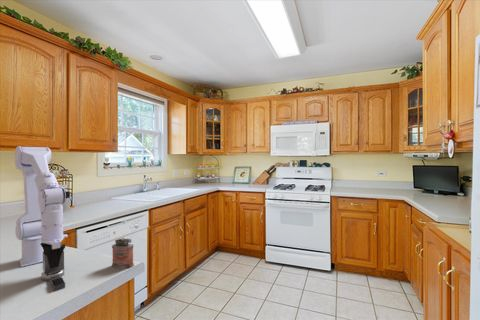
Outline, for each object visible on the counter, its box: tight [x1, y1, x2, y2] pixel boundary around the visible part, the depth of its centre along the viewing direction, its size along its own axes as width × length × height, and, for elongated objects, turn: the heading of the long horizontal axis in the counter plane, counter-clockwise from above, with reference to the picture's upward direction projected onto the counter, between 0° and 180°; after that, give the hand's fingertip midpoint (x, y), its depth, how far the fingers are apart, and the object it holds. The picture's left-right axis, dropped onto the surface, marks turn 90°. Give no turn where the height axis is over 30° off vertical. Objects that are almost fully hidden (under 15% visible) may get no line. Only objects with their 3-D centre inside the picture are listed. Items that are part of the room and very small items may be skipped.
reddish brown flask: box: [111, 237, 135, 269], centre depth 87 cm, size 8×3×10 cm, turn 80°
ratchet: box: [41, 268, 66, 292], centre depth 76 cm, size 15×6×4 cm, turn 45°
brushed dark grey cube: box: [42, 250, 65, 274], centre depth 80 cm, size 5×5×6 cm
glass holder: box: [63, 191, 72, 213], centre depth 184 cm, size 9×14×15 cm, turn 166°
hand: (52, 265), depth 80 cm, fingers closed on brushed dark grey cube, 5 cm apart
